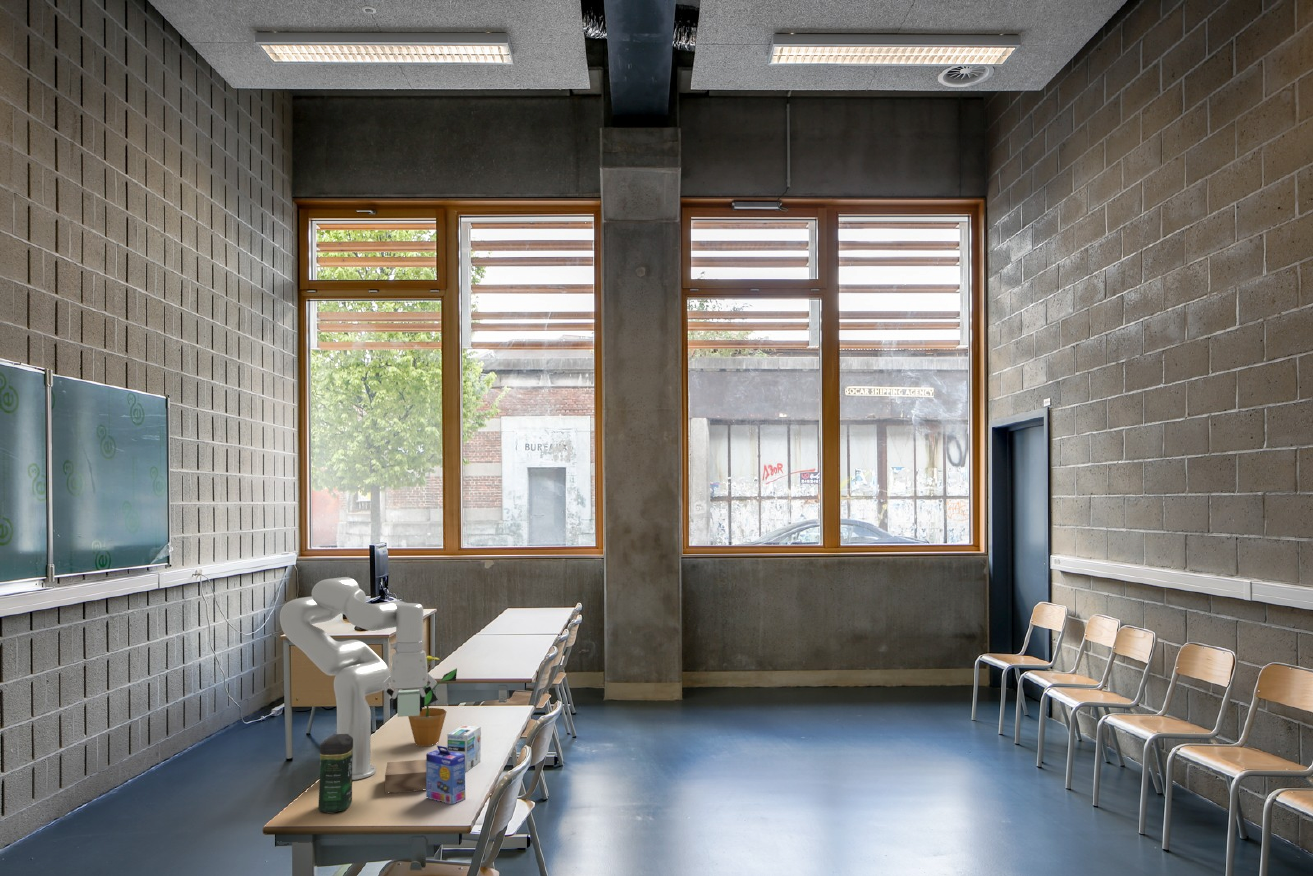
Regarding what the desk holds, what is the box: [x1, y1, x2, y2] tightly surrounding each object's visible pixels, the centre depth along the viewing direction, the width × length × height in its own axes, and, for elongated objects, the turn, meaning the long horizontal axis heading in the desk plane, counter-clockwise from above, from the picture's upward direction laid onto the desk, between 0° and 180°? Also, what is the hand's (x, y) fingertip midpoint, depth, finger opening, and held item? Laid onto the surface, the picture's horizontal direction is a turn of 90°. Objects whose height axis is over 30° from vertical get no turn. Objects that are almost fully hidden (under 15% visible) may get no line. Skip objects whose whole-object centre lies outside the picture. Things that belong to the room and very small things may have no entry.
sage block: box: [397, 688, 421, 718], centre depth 258 cm, size 6×6×6 cm
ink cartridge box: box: [425, 745, 466, 805], centre depth 245 cm, size 10×6×14 cm, turn 60°
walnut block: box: [384, 759, 426, 794], centre depth 257 cm, size 12×12×5 cm
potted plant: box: [407, 654, 458, 747], centre depth 299 cm, size 18×19×30 cm
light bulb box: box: [446, 725, 482, 772], centre depth 274 cm, size 11×7×11 cm, turn 168°
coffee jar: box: [317, 733, 353, 814], centre depth 239 cm, size 10×8×19 cm
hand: (408, 710), depth 258 cm, fingers closed on sage block, 6 cm apart
